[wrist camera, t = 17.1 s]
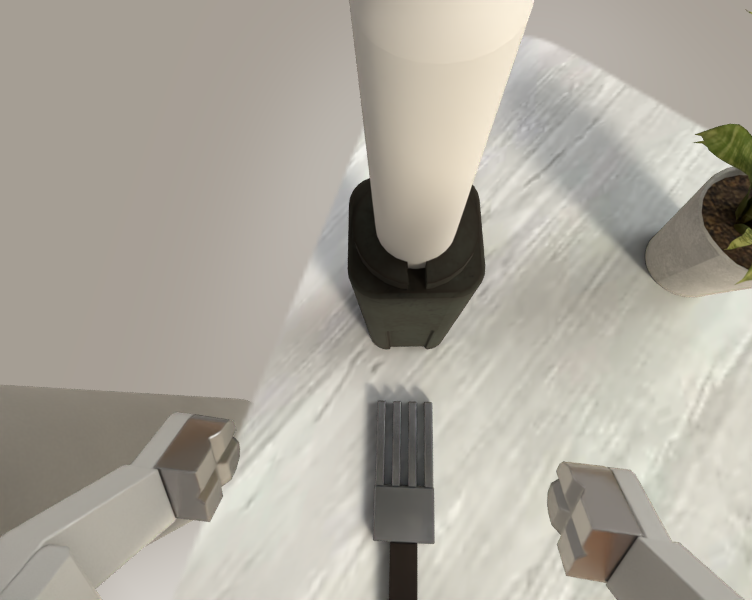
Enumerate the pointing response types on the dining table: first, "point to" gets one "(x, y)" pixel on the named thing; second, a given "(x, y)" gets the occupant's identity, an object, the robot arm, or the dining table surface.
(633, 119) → the dining table surface
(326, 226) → the dining table surface
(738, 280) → the house plant
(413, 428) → the fork
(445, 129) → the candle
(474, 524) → the dining table surface
